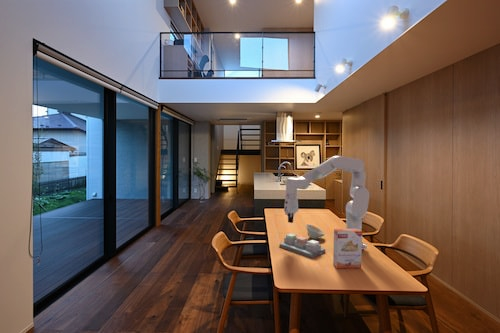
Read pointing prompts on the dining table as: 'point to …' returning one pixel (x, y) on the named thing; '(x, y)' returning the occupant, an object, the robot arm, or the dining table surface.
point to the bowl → (314, 232)
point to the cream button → (313, 243)
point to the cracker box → (347, 248)
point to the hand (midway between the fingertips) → (290, 222)
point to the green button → (291, 236)
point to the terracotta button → (301, 239)
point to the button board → (302, 248)
